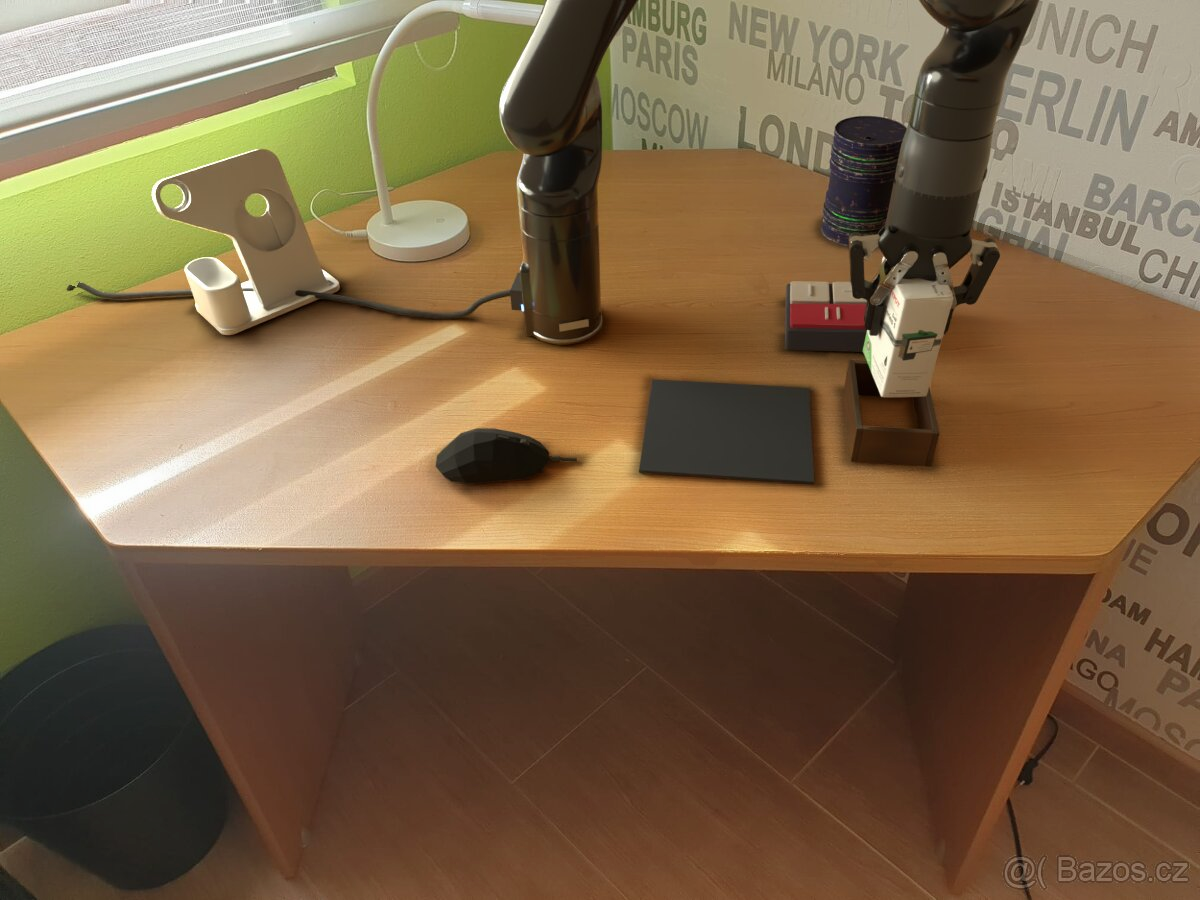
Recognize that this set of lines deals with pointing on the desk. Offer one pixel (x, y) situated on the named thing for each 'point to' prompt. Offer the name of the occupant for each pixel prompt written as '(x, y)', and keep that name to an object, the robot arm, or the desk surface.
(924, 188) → the robot arm
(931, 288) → the ink box
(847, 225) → the navy blue cylinder
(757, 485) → the desk surface
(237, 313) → the phone holder
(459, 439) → the gaming mouse
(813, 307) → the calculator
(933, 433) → the box
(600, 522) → the desk surface
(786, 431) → the mat
